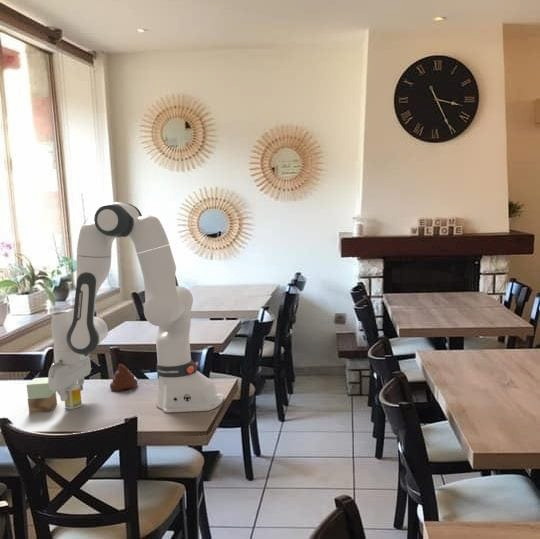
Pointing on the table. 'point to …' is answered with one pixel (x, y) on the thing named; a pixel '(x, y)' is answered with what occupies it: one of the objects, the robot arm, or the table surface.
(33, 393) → the tower top
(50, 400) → the tower base
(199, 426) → the table surface
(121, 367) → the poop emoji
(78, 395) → the supplement bottle
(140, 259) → the robot arm
